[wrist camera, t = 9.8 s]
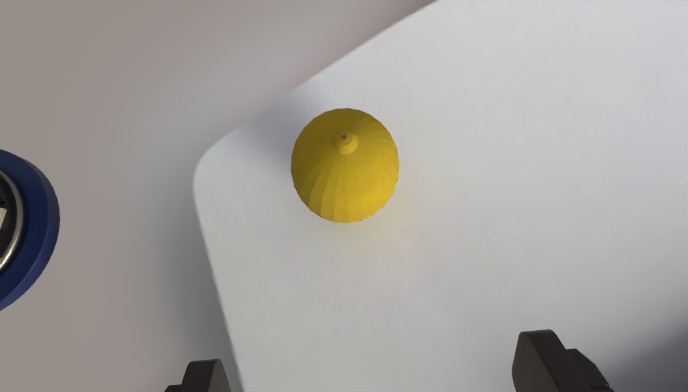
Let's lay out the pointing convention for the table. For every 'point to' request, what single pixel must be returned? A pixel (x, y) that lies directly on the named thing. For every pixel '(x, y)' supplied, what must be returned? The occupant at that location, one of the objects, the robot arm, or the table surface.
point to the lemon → (344, 165)
